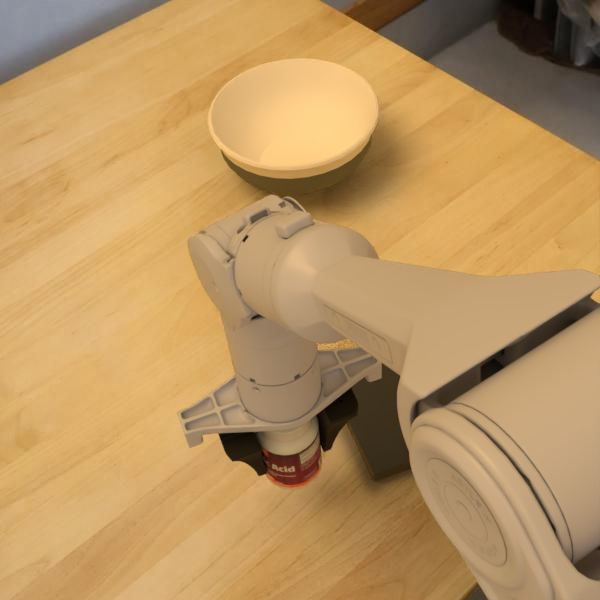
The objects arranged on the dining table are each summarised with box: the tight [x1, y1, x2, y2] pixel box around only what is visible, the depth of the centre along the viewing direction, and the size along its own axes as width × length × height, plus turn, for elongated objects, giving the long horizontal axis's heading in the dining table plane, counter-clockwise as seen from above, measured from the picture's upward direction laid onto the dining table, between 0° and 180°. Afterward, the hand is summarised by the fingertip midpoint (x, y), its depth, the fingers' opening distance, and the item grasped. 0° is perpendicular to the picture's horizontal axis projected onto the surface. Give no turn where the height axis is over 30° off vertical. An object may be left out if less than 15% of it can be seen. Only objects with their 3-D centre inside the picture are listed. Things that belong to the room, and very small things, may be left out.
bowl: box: [207, 57, 381, 195], centre depth 95 cm, size 19×19×8 cm
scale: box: [345, 363, 411, 482], centre depth 76 cm, size 13×11×3 cm
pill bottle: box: [255, 415, 323, 491], centre depth 65 cm, size 5×5×8 cm
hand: (291, 452), depth 66 cm, fingers closed on pill bottle, 5 cm apart
